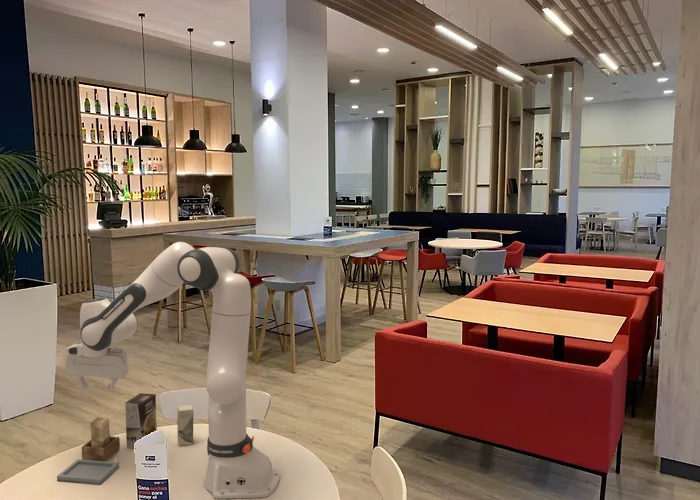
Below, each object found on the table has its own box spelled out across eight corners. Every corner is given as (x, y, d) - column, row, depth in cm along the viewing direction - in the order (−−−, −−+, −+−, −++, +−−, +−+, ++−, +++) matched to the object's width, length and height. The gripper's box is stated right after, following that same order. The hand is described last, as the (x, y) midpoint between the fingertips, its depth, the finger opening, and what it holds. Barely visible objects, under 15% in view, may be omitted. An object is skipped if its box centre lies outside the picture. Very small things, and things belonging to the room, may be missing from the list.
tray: (118, 467, 169) (118, 462, 169) (100, 484, 160) (100, 479, 159) (77, 463, 171) (77, 459, 171) (57, 481, 161) (56, 476, 161)
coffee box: (143, 449, 181) (141, 404, 179) (126, 447, 182) (124, 402, 180) (158, 437, 190) (156, 393, 188) (141, 435, 191) (139, 392, 189)
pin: (110, 452, 179) (108, 418, 177) (103, 458, 175) (101, 423, 173) (99, 451, 179) (97, 417, 178) (92, 457, 175) (90, 422, 174)
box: (178, 446, 183) (177, 411, 181) (177, 441, 187) (176, 406, 185) (194, 444, 185) (193, 408, 183) (193, 438, 189) (192, 403, 187)
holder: (119, 449, 181) (119, 437, 180) (105, 462, 173) (105, 448, 172) (97, 447, 182) (96, 435, 181) (82, 460, 174) (81, 447, 173)
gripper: (131, 346, 174) (132, 387, 176) (73, 343, 177) (75, 383, 179) (121, 352, 168) (122, 394, 170) (61, 348, 171) (62, 390, 172)
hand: (97, 388), depth 174 cm, fingers open, 8 cm apart
